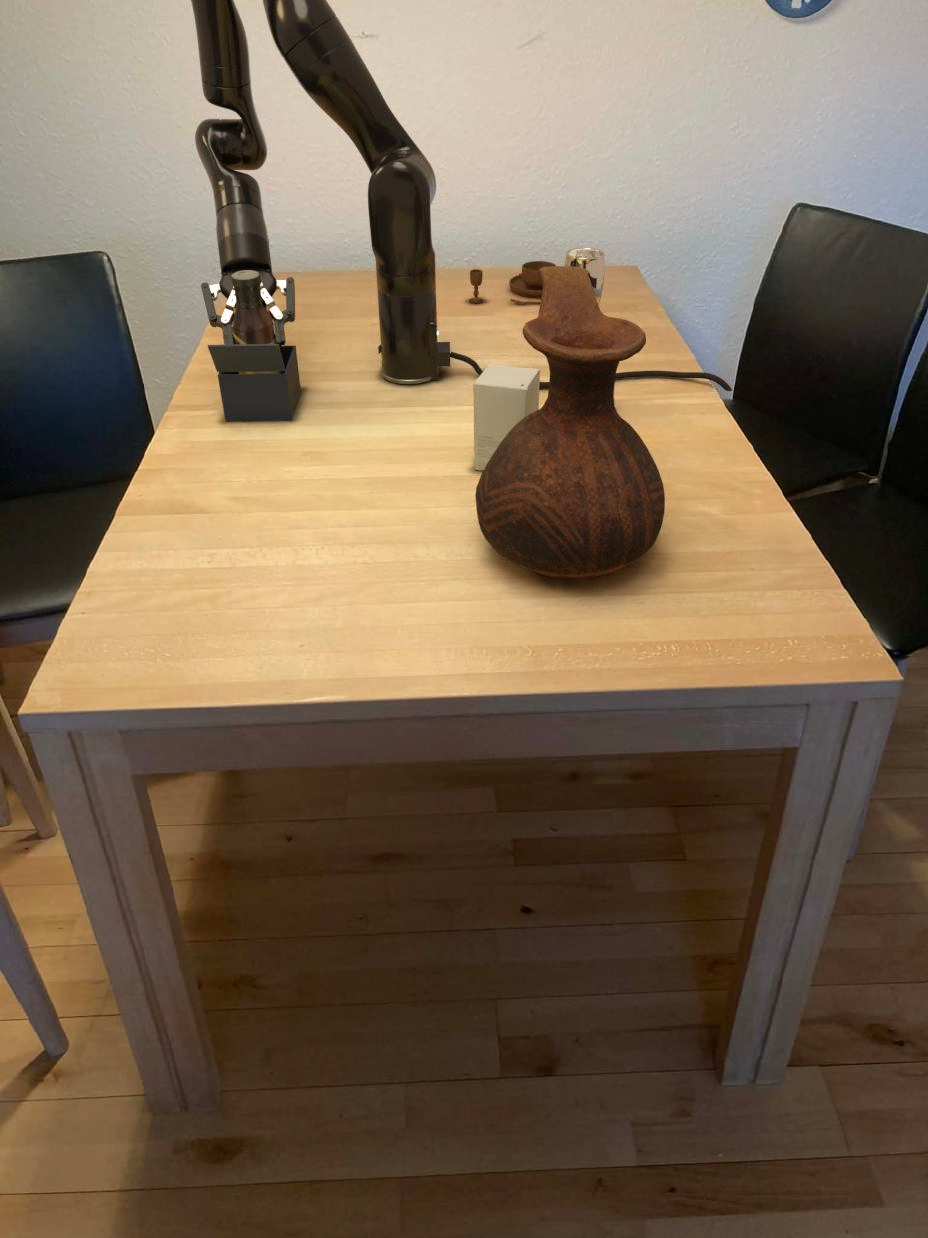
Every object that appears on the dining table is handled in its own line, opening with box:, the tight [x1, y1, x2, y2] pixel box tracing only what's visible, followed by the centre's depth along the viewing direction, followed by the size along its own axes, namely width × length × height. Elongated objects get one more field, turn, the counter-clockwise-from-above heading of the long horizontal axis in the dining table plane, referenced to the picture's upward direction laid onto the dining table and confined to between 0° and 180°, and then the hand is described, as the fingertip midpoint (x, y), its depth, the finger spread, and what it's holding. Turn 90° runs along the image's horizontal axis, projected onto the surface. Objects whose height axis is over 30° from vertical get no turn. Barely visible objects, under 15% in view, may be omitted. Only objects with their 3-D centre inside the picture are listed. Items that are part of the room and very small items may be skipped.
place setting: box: [468, 260, 557, 305], centre depth 188 cm, size 18×20×6 cm
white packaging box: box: [472, 363, 541, 472], centre depth 126 cm, size 7×7×13 cm
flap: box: [207, 344, 285, 373], centre depth 133 cm, size 10×6×1 cm
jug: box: [475, 265, 666, 579], centre depth 102 cm, size 22×22×30 cm
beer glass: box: [564, 247, 605, 307], centre depth 163 cm, size 7×7×15 cm
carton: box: [217, 345, 302, 422], centre depth 143 cm, size 10×12×7 cm
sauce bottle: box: [231, 270, 281, 374], centre depth 139 cm, size 6×6×20 cm
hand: (256, 348), depth 138 cm, fingers closed on sauce bottle, 6 cm apart
